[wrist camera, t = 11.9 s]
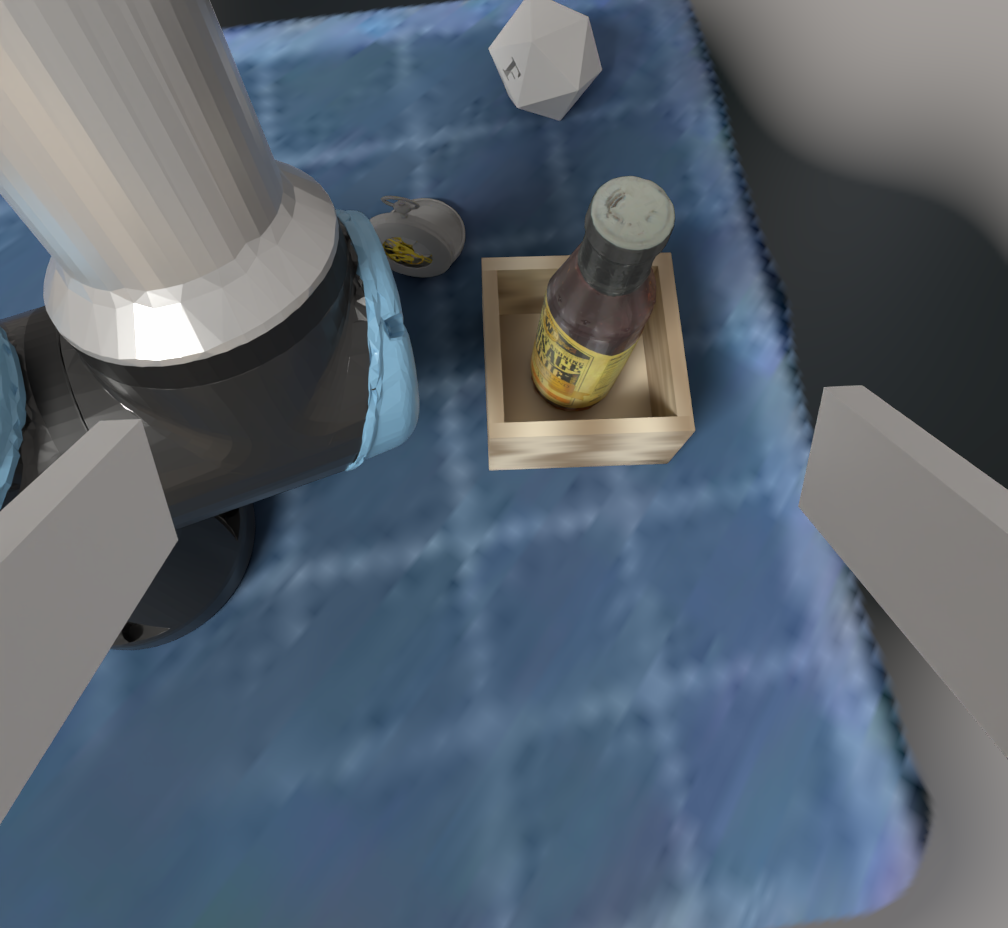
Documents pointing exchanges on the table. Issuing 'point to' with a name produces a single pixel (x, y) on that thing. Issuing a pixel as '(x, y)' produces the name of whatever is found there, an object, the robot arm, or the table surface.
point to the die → (546, 57)
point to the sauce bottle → (601, 295)
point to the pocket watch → (420, 236)
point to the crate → (608, 424)
